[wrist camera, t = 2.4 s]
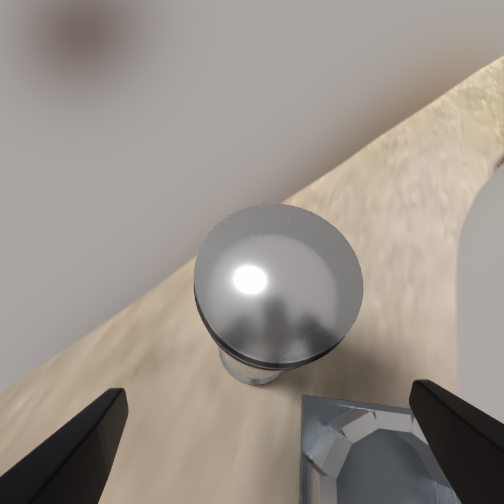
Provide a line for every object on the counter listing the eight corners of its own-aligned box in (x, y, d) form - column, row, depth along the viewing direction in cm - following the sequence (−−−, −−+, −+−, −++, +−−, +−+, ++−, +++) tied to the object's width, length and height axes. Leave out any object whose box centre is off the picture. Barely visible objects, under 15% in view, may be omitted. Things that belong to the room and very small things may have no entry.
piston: (288, 389, 17) (387, 390, 5) (213, 379, 17) (157, 360, 6) (291, 314, 19) (365, 206, 8) (225, 306, 19) (204, 187, 8)
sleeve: (472, 617, 12) (537, 680, 10) (297, 591, 13) (313, 647, 10) (433, 412, 17) (471, 416, 14) (301, 394, 17) (313, 395, 14)
